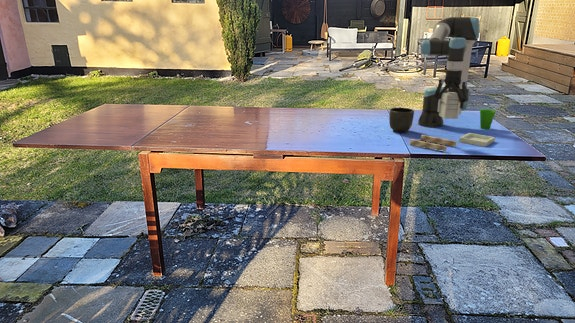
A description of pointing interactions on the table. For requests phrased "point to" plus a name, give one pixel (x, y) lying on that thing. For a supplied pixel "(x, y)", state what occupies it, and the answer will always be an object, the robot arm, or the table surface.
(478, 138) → the tray
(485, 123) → the cup
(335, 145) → the table surface
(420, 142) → the open u-shaped frame
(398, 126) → the planter
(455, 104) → the supplement box
